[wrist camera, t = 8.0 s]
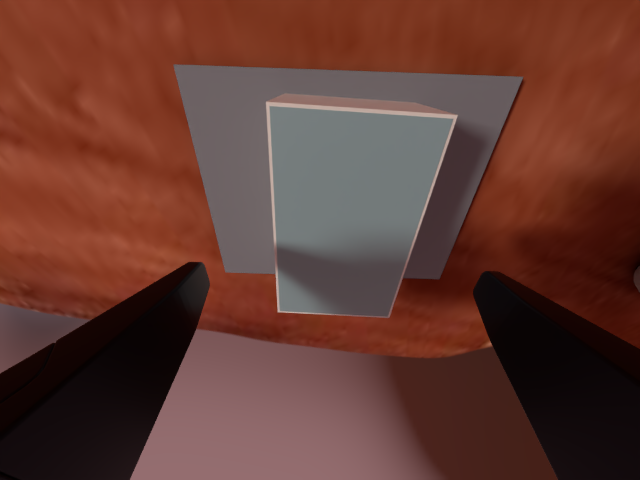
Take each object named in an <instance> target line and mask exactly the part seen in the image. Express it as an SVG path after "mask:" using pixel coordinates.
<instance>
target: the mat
mask: <svg viewBox="0 0 640 480" xmlns="http://www.w3.org/2000/svg"><path fill="white" fill-rule="evenodd" d="M173 65H174V64H173ZM174 69H175V73H176V77H177V81H178V85H179V89H180V93H181V97H182V101H183V105H184V109H185V113H186V117H187V121H188V125H189V129H190V133H191V137H192V141H193V144H194V148H195V152H196V156H197V160H198V164H199V168H200V172H201V176H202V180H203V184H204V188H205V192H206V196H207V200H208V204H209V208H210V212H211V216H212V220H213V224H214V228H215V232H216V236H217V240H218V244H219V248H220V252H221V256H222V260H223V264H224V268H225V272H233V273H263V274H276V271H275V253H274V236H273V218H272V201H271V183H270V166H269V148H268V131H267V113H266V101H269V100H271V99H273V98H276V97H278V96H280V95H282V94H285V93H287V94H301V95H315V96H329V97H344V98H358V99H372V100H386V101H400V102H415V103H418V104H422V105H425V106H429V107H432V108H435V109H439V110H442V111H446V112H449V113H452V114H456V115H458V116H457V119H456V122H455V125H454V128H453V131H452V134H451V137H450V140H449V143H448V146H447V149H446V152H445V155H444V158H443V161H442V164H441V167H440V169H439V172H438V175H437V178H436V181H435V184H434V187H433V190H432V193H431V196H430V199H429V202H428V205H427V208H426V211H425V214H424V217H423V220H422V223H421V225H420V228H419V231H418V234H417V237H416V240H415V243H414V246H413V249H412V252H411V255H410V258H409V261H408V264H407V267H406V270H405V273H404V276H403V278H417V279H440V277H441V274H442V272H443V269H444V267H445V265H446V262H447V260H448V257H449V255H450V253H451V250H452V248H453V245H454V243H455V241H456V238H457V236H458V233H459V231H460V228H461V226H462V224H463V221H464V219H465V216H466V214H467V212H468V209H469V207H470V204H471V202H472V200H473V197H474V195H475V192H476V190H477V187H478V185H479V183H480V180H481V178H482V175H483V173H484V171H485V168H486V166H487V163H488V161H489V159H490V156H491V154H492V151H493V149H494V146H495V144H496V142H497V139H498V137H499V134H500V132H501V130H502V127H503V125H504V122H505V120H506V118H507V115H508V113H509V110H510V108H511V105H512V103H513V101H514V98H515V96H516V93H517V91H518V89H519V86H520V84H521V81H522V79H523V77H512V76H484V75H456V74H427V73H399V72H371V71H343V70H315V69H287V68H259V67H230V66H202V65H174Z"/></svg>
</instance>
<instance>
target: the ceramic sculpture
mask: <svg viewBox="0 0 640 480" xmlns="http://www.w3.org/2000/svg"><path fill="white" fill-rule="evenodd" d="M634 283H635V285H636V287H637V289H638V291H639V292H640V265H639V267H638V268H637V269H636V270H635V273H634Z"/></svg>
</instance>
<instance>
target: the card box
mask: <svg viewBox="0 0 640 480" xmlns="http://www.w3.org/2000/svg"><path fill="white" fill-rule="evenodd" d="M266 113H267V131H268V148H269V166H270V183H271V201H272V218H273V236H274V253H275V271H276V288H277V306H278V312H287V313H306V314H325V315H344V316H364V317H383V318H389V317H390V314H391V311H392V308H393V305H394V302H395V299H396V296H397V293H398V290H399V287H400V284H401V281H402V279H403V276H404V273H405V270H406V267H407V264H408V261H409V258H410V255H411V252H412V249H413V246H414V243H415V240H416V237H417V234H418V231H419V228H420V225H421V223H422V220H423V217H424V214H425V211H426V208H427V205H428V202H429V199H430V196H431V193H432V190H433V187H434V184H435V181H436V178H437V175H438V172H439V169H440V167H441V164H442V161H443V158H444V155H445V152H446V149H447V146H448V143H449V140H450V137H451V134H452V131H453V128H454V125H455V122H456V119H457V116H458V115H456V114H452V113H449V112H446V111H442V110H439V109H435V108H432V107H429V106H425V105H422V104H418V103H415V102H400V101H386V100H372V99H358V98H344V97H329V96H315V95H301V94H287V93H285V94H282V95H280V96H278V97H276V98H273V99H271V100H269V101H266Z"/></svg>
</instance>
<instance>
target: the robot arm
mask: <svg viewBox="0 0 640 480" xmlns="http://www.w3.org/2000/svg"><path fill="white" fill-rule="evenodd" d="M209 286H210V282H209V278H208V275H207V272H206V268H205V265H204V264H203V263H202V262H188V263H186V264H185V265H183V266H181V267H180V268H178V269H176V270H175V271H173V272H171V273H170V274H168V275H166V276H165V277H163V278H161V279H159V280H158V281H156V282H154V283H153V284H151V285H149V286H148V287H146V288H144V289H143V290H141V291H139V292H138V293H136V294H134V295H133V296H131V297H129V298H127V299H126V300H124V301H122V302H121V303H119V304H117V305H116V306H114V307H112V308H111V309H109V310H107V311H106V312H104V313H102V314H101V315H99V316H97V317H95V318H94V319H92V320H90V321H89V322H87V323H85V324H84V325H82V326H80V327H79V328H77V329H75V330H74V331H72V332H70V333H69V334H67V335H65V336H63V337H62V338H60V339H58V340H57V341H56V343H52V344H50V345H48V346H47V347H45V348H43V349H42V350H40V351H38V352H37V353H35V354H33V355H31V356H30V357H28V358H26V359H25V360H23V361H21V362H19V363H18V364H16V365H14V366H12V367H11V368H9V369H8V370H6V371H4V372H2V373H1V374H0V480H130V478H131V476H132V473H133V471H134V469H135V467H136V464H137V462H138V460H139V457H140V455H141V453H142V451H143V449H144V446H145V444H146V442H147V439H148V437H149V435H150V433H151V431H152V428H153V426H154V424H155V421H156V419H157V417H158V415H159V412H160V410H161V408H162V406H163V403H164V401H165V399H166V396H167V394H168V392H169V390H170V388H171V385H172V383H173V381H174V379H175V376H176V374H177V372H178V370H179V367H180V365H181V363H182V360H183V358H184V356H185V353H186V351H187V349H188V347H189V345H190V342H191V340H192V338H193V335H194V333H195V331H196V328H197V325H198V322H199V319H200V315H201V312H202V309H203V306H204V303H205V300H206V296H207V293H208V290H209ZM473 295H474V299H475V301H476V304H477V307H478V310H479V312H480V315H481V318H482V320H483V323H484V326H485V329H486V331H487V334H488V336H489V339H490V341H491V343H492V345H493V348H494V350H495V352H496V354H497V356H498V358H499V360H500V362H501V364H502V366H503V368H504V370H505V372H506V374H507V376H508V378H509V380H510V382H511V384H512V386H513V388H514V390H515V393H516V395H517V397H518V399H519V401H520V403H521V405H522V407H523V409H524V411H525V413H526V415H527V417H528V419H529V421H530V423H531V425H532V427H533V429H534V431H535V433H536V435H537V438H538V440H539V442H540V444H541V446H542V448H543V450H544V452H545V454H546V456H547V458H548V460H549V462H550V464H551V466H552V468H553V470H554V472H555V474H556V476H557V478H558V480H640V349H638V348H637V347H635V346H633V345H631V344H629V343H628V342H626V341H624V340H622V339H620V338H618V337H617V336H615V335H613V334H611V333H609V332H608V331H606V330H604V329H602V328H600V327H599V326H597V325H595V324H593V323H591V322H589V321H588V320H586V319H584V318H582V317H580V316H579V315H577V314H575V313H573V312H571V311H569V310H568V309H566V308H564V307H562V306H560V305H559V304H557V303H555V302H553V301H551V300H550V299H548V298H546V297H544V296H542V295H540V294H539V293H537V292H535V291H533V290H531V289H530V288H528V287H526V286H524V285H522V284H520V283H519V282H517V281H515V280H513V279H511V278H510V277H508V276H506V275H504V274H502V273H500V272H497V271H485V272H483V273H482V275H481V276H480V278H479V280H478V282H477V284H476V286H475V288H474V290H473Z"/></svg>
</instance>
